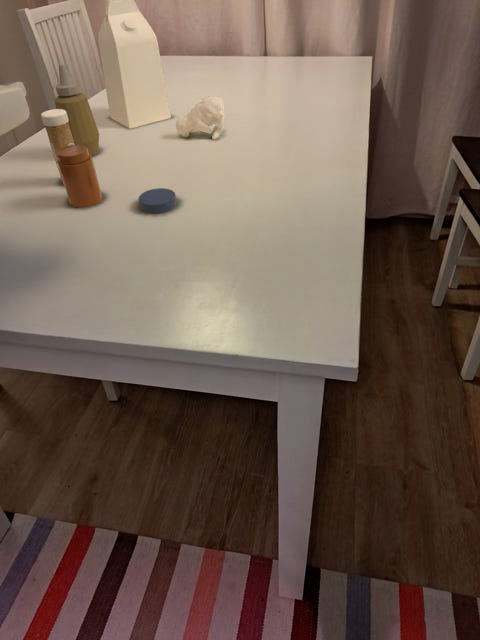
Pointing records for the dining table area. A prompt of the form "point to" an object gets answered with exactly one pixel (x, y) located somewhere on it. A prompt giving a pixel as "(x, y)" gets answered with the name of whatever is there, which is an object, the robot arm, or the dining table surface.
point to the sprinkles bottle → (57, 130)
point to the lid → (157, 200)
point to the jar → (79, 176)
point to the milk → (132, 66)
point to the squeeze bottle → (77, 112)
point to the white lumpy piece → (203, 117)
